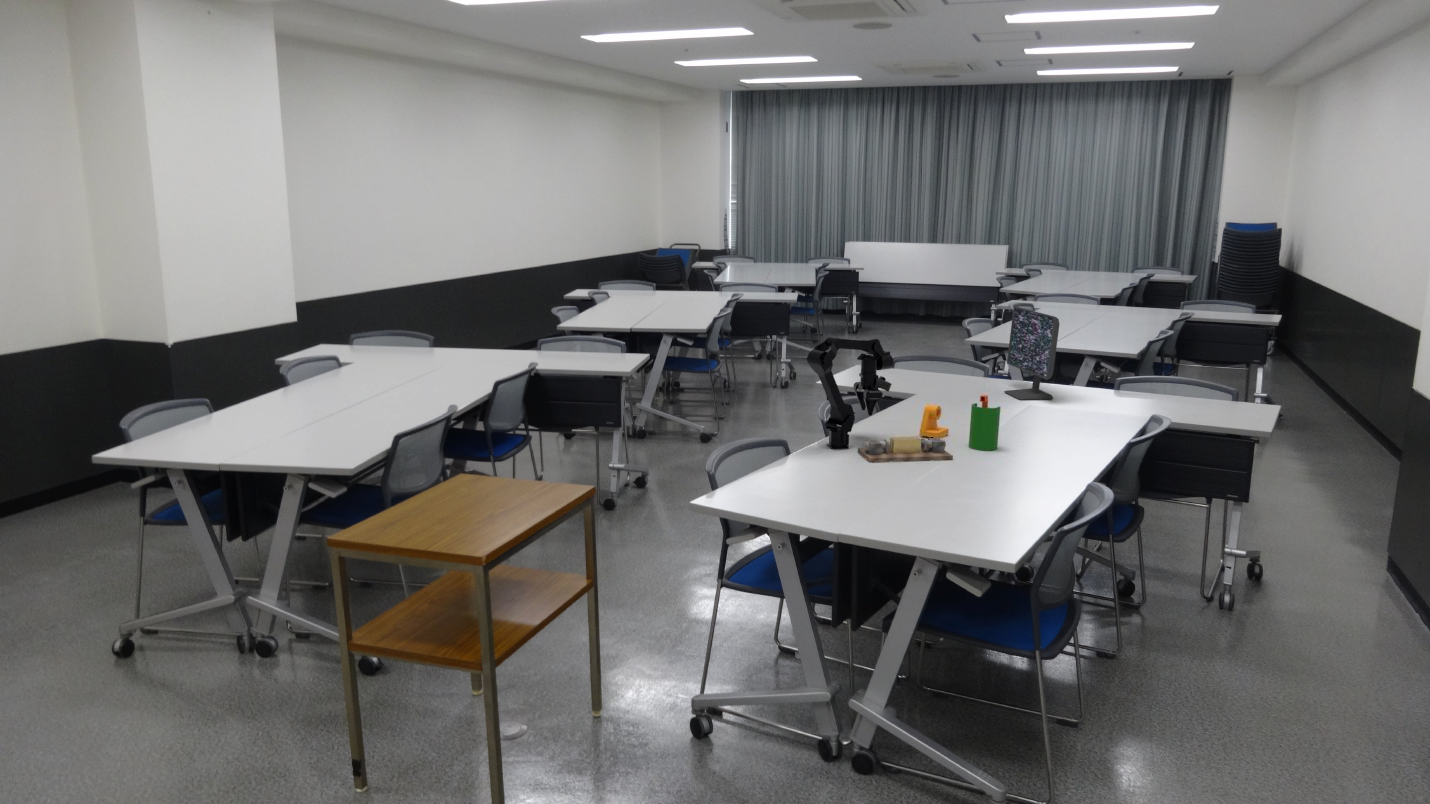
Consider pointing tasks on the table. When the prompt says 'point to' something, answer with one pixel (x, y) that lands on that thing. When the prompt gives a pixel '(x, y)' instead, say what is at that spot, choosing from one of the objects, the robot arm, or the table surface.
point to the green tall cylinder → (984, 426)
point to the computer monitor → (1033, 349)
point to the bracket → (932, 423)
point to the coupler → (905, 445)
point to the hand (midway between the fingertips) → (866, 412)
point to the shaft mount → (881, 453)
